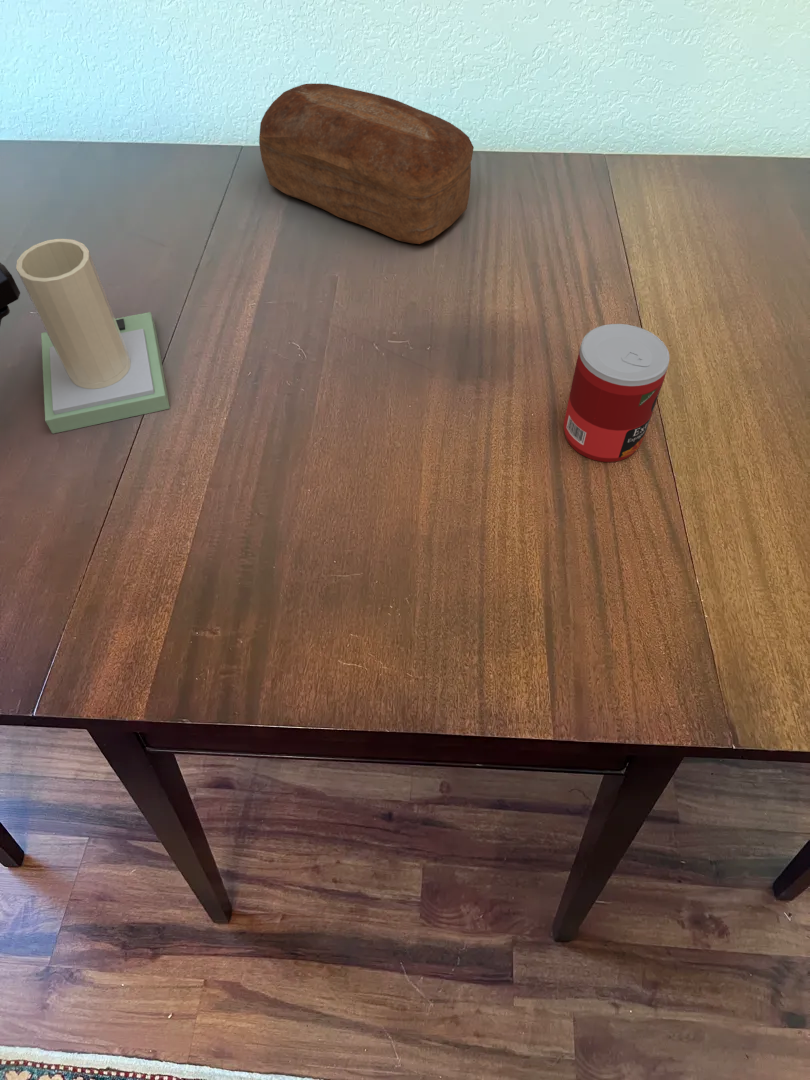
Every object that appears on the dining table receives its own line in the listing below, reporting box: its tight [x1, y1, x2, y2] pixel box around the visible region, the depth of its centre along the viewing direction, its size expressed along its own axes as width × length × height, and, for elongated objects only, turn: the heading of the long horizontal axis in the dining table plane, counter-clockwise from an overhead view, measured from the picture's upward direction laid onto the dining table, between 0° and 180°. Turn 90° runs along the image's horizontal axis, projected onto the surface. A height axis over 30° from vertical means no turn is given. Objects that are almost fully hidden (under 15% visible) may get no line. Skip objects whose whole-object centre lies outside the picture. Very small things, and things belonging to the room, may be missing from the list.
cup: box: [15, 238, 131, 389], centre depth 76 cm, size 6×6×13 cm
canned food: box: [563, 323, 670, 463], centre depth 74 cm, size 8×8×11 cm
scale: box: [40, 311, 171, 434], centre depth 83 cm, size 14×12×3 cm
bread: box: [258, 82, 475, 245], centre depth 99 cm, size 14×28×12 cm, turn 55°
